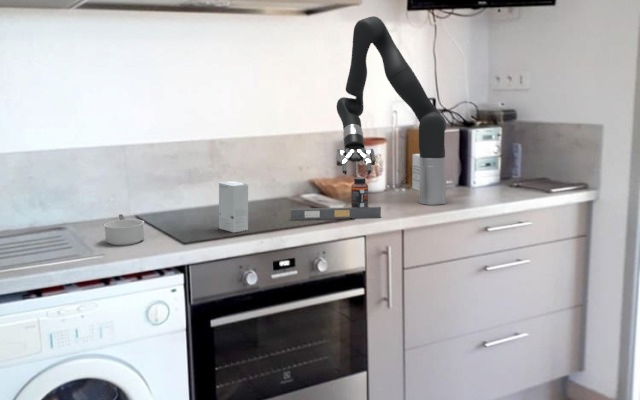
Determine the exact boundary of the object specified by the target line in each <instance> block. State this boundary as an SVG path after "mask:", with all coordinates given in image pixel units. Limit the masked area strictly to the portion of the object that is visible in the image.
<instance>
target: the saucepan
mask: <svg viewBox="0 0 640 400" xmlns="http://www.w3.org/2000/svg"><path fill="white" fill-rule="evenodd" d="M118 218H119V219H117V220H112V221H108V222H104V224H103V226H104V232H105V242H106V243H108V244H110V245H113V246H130V245H134V244H137V243H140V242H141V241H143V240H144V239H145V231H144V229H145V228H144V223H145V221H144V220H141V219H131V218H129V219H126V218H125V217H124V215H123V214H120V213H119V214H118Z"/></svg>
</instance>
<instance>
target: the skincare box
mask: <svg viewBox="0 0 640 400" xmlns="http://www.w3.org/2000/svg"><path fill="white" fill-rule="evenodd" d="M218 228H219V229H220V230H224V231H227V232H231V233H233V234H234V233H240V232H245V230H246V231H248V230H249V184H247V183H244V182H240V181H235V180H229V181H220V182H218Z"/></svg>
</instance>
